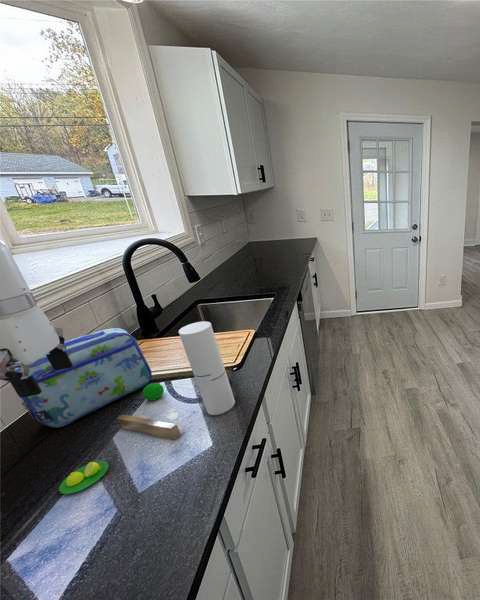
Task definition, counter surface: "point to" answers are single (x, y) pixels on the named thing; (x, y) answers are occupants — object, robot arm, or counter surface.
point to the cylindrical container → (207, 367)
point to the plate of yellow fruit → (83, 477)
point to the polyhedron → (153, 391)
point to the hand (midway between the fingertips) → (48, 380)
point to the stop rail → (149, 426)
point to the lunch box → (87, 377)
